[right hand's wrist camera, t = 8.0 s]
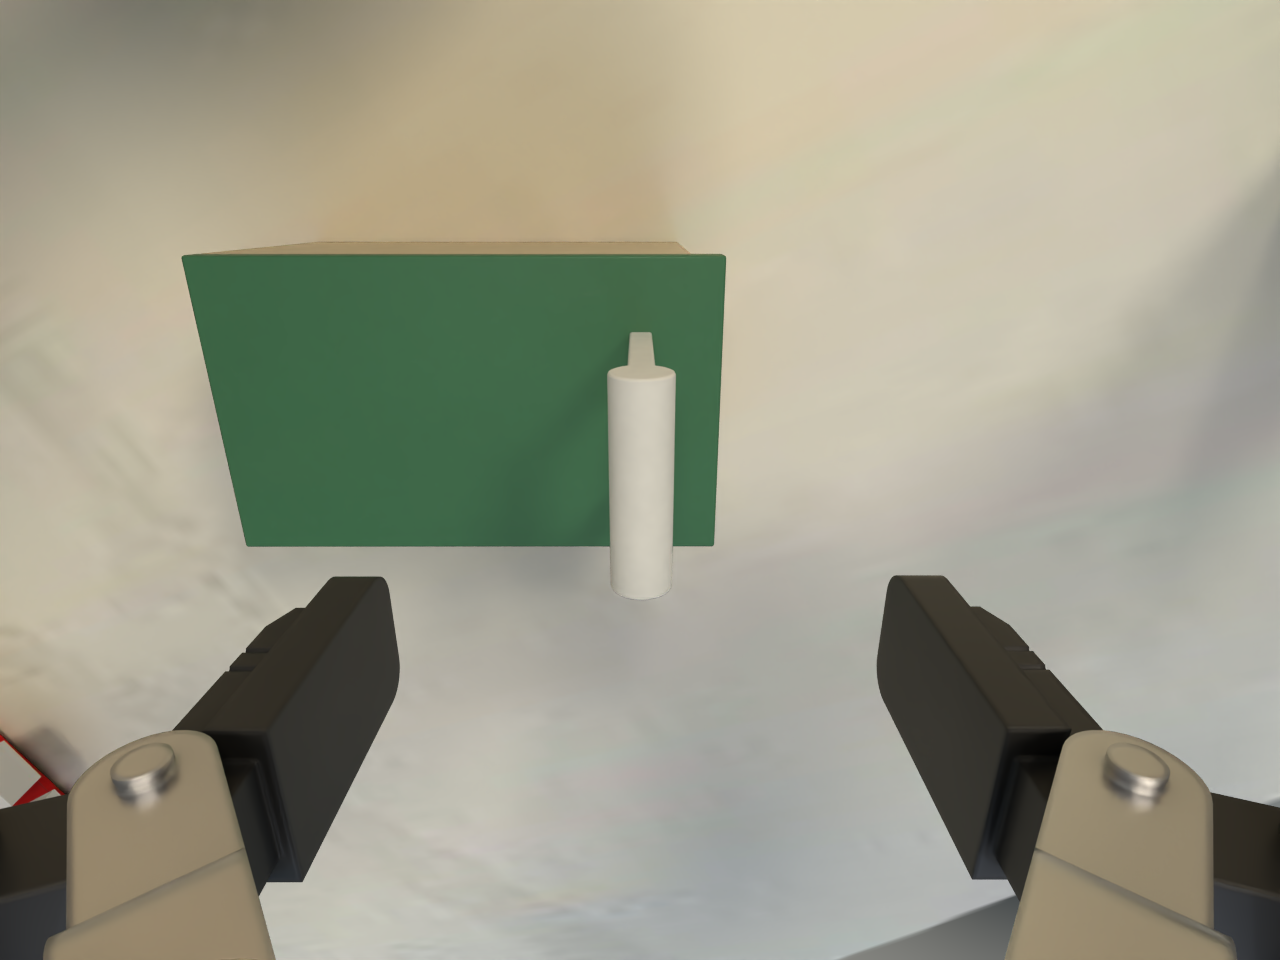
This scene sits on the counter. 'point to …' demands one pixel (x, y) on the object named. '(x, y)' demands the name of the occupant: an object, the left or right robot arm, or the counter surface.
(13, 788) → the toy
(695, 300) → the lid
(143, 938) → the right robot arm
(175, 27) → the counter surface
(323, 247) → the chest
